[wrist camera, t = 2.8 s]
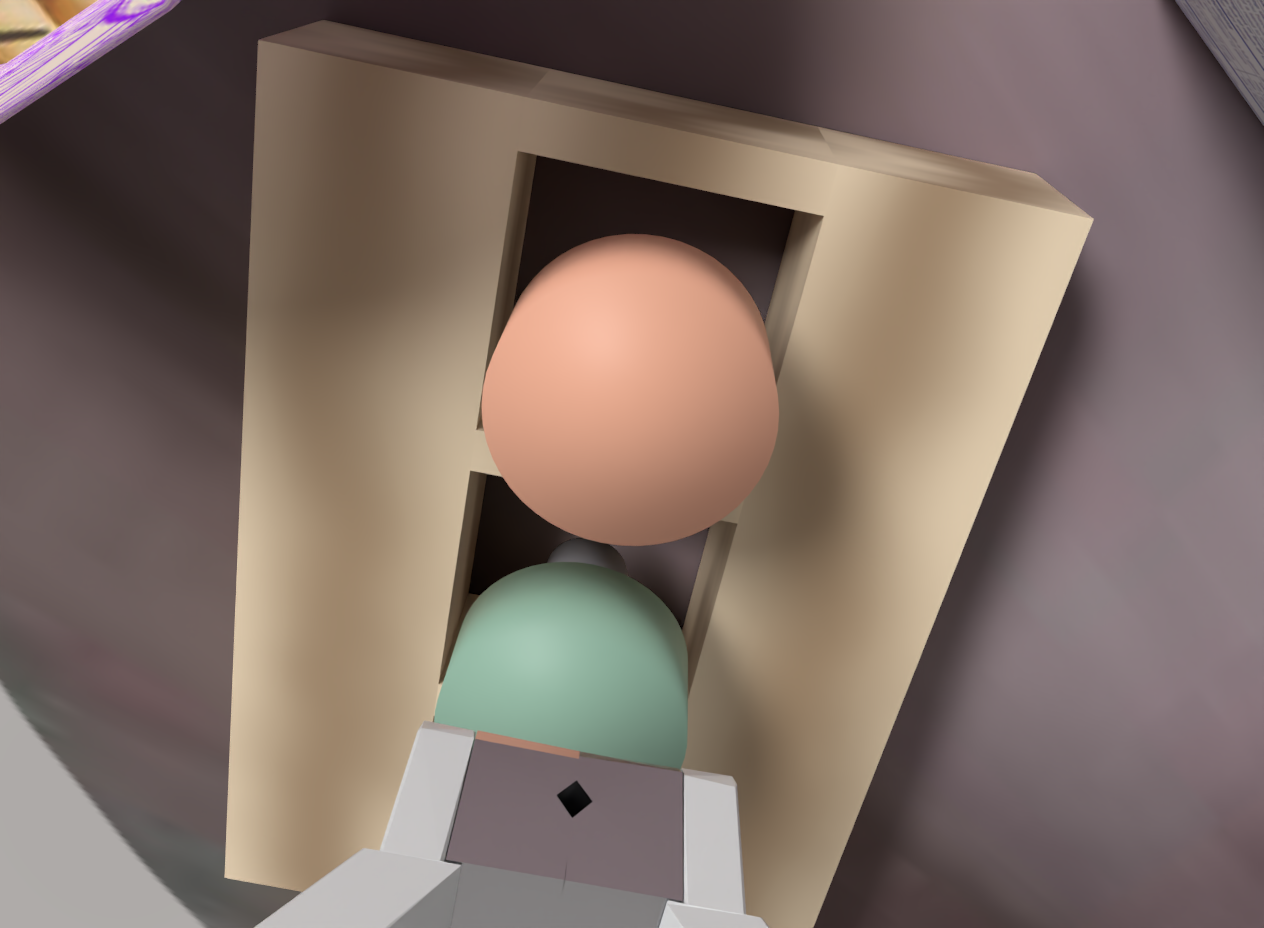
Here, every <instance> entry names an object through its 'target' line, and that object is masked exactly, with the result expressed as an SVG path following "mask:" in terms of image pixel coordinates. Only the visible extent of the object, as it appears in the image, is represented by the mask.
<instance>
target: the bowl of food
mask: <svg viewBox="0 0 1264 928" xmlns="http://www.w3.org/2000/svg"><path fill="white" fill-rule="evenodd" d="M180 1H181V0H0V124H1V123H3V122H4V121H6V120H7V119H9V118H10V117H12V116H13V115H15V114H16V113H18V112H19V111H21V110H22V109H24V108H25V107H27V106H28V105H30V104H31V103H33V102H34V101H36V100H37V99H39V98H40V97H42V96H43V95H45V94H46V93H48V92H49V91H51V90H52V89H54V88H55V87H57V86H58V85H60V84H61V83H63V82H64V81H66V80H67V79H69V78H70V77H72V76H73V75H75V74H76V73H78V72H79V71H81V70H82V69H84V68H85V67H87V66H88V65H90V64H91V63H93V62H94V61H96V60H97V59H99V58H100V57H102V56H103V55H105V54H106V53H108V52H109V51H111V50H112V49H114V48H115V47H117V46H118V45H120V44H121V43H123V42H124V41H126V40H127V39H129V38H130V37H132V36H133V35H135V34H136V33H138V32H139V31H141V30H142V29H144V28H145V27H147V26H148V25H150V24H151V23H153V22H154V21H156V20H157V19H159V18H160V17H162V16H163V15H165V14H166V13H168V12H169V11H171V10H172V9H173V8H174V7H175V6H176V5H177V4H178V3H179V2H180Z"/></svg>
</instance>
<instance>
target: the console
mask: <svg viewBox="0 0 1264 928" xmlns="http://www.w3.org/2000/svg"><path fill="white" fill-rule="evenodd" d="M537 155H539V156H544V157H549V158H553V159H558V160H563V161H568V162H572V163H577V164H582V165H586V166H591V167H596V168H601V169H605V170H610V171H615V172H619V173H624V174H629V175H633V176H638V177H643V178H648V179H652V180H657V181H662V182H666V183H671V184H676V185H681V186H685V187H690V188H695V189H699V190H704V191H709V192H713V193H718V194H723V195H728V196H732V197H737V198H742V199H746V200H751V201H756V202H761V203H765V204H770V205H775V206H779V207H784V208H789V209H794V210H795V212H794V216H793V220H792V223H791V227H790V231H789V235H788V238H787V242H786V246H785V249H784V253H783V257H782V261H781V264H780V268H779V272H778V276H777V279H776V283H775V287H774V290H773V294H772V298H771V302H770V305H769V309H768V313H767V316H766V320H765V324H764V325H765V328H766V332H767V337H768V341H769V347H770V352H771V358H772V364H773V370H774V376H775V382H776V387H777V393H778V404H779V422H778V432H777V437H776V442H775V447H774V450H773V452H772V455H771V458H770V461H769V463H768V466H767V467H766V469H765V471H764V473H763V475H762V477H761V479H760V480H759V482H758V483H757V484H756V486H755V487H754V489H753V490H752V491H751V493H750V494H749V495H748V496H747V497H746V498H745V499H744V500H743V501H742V502H741V504H740V505H739V506H738V507H737V508H735V509H734V510H733V511H732V512H730V513H729V514H728V515H727V516H725V517H724V518H723V519H721V520H720V521H718V522H716V523H715V524H713V525H712V526H710V529H709V532H708V536H707V540H706V543H705V547H704V551H703V555H702V558H701V562H700V566H699V569H698V573H697V577H696V581H695V584H694V588H693V592H692V596H691V599H690V603H689V607H688V610H687V614H686V618H685V622H684V625H683V629H682V632H683V635H684V639H685V642H686V646H687V653H688V731H687V749H686V754H685V758H684V761H683V764H682V766H681V769H682V768H684V769H690V770H697V771H703V772H709V773H715V774H721V775H727V776H732V777H733V778H734V780H735V782H736V784H737V791H738V805H739V820H740V834H741V848H742V862H743V876H744V890H745V904H746V915H750V916H756V917H761V918H763V920H764V921H765V922H766V924H767V925H768V926H769V928H813V927H814V924H815V922H816V919H817V917H818V914H819V912H820V909H821V907H822V904H823V902H824V899H825V897H826V894H827V891H828V889H829V886H830V884H831V881H832V879H833V876H834V874H835V871H836V869H837V866H838V864H839V861H840V859H841V856H842V854H843V851H844V849H845V846H846V844H847V841H848V838H849V836H850V833H851V831H852V828H853V826H854V823H855V821H856V818H857V816H858V813H859V811H860V808H861V806H862V803H863V801H864V798H865V796H866V793H867V790H868V788H869V785H870V783H871V780H872V778H873V775H874V773H875V770H876V768H877V765H878V763H879V760H880V758H881V755H882V753H883V750H884V748H885V745H886V742H887V740H888V737H889V735H890V732H891V730H892V727H893V725H894V722H895V720H896V717H897V715H898V712H899V710H900V707H901V705H902V702H903V700H904V697H905V694H906V692H907V689H908V687H909V684H910V682H911V679H912V677H913V674H914V672H915V669H916V667H917V664H918V662H919V659H920V657H921V654H922V652H923V649H924V646H925V644H926V641H927V639H928V636H929V634H930V631H931V629H932V626H933V624H934V621H935V619H936V616H937V614H938V611H939V609H940V606H941V604H942V601H943V599H944V596H945V593H946V591H947V588H948V586H949V583H950V581H951V578H952V576H953V573H954V571H955V568H956V566H957V563H958V561H959V558H960V556H961V553H962V551H963V548H964V545H965V543H966V540H967V538H968V535H969V533H970V530H971V528H972V525H973V523H974V520H975V518H976V515H977V513H978V510H979V508H980V505H981V503H982V500H983V497H984V495H985V492H986V490H987V487H988V485H989V482H990V480H991V477H992V475H993V472H994V470H995V467H996V465H997V462H998V460H999V457H1000V455H1001V452H1002V449H1003V447H1004V444H1005V442H1006V439H1007V437H1008V434H1009V432H1010V429H1011V427H1012V424H1013V422H1014V419H1015V417H1016V414H1017V412H1018V409H1019V407H1020V404H1021V402H1022V399H1023V396H1024V394H1025V391H1026V389H1027V386H1028V384H1029V381H1030V379H1031V376H1032V374H1033V371H1034V369H1035V366H1036V364H1037V361H1038V359H1039V356H1040V354H1041V351H1042V348H1043V346H1044V343H1045V341H1046V338H1047V336H1048V333H1049V331H1050V328H1051V326H1052V323H1053V321H1054V318H1055V316H1056V313H1057V311H1058V308H1059V306H1060V303H1061V300H1062V298H1063V295H1064V293H1065V290H1066V288H1067V285H1068V283H1069V280H1070V278H1071V275H1072V273H1073V270H1074V268H1075V265H1076V263H1077V260H1078V258H1079V255H1080V252H1081V250H1082V247H1083V245H1084V242H1085V240H1086V237H1087V235H1088V232H1089V230H1090V227H1091V225H1092V222H1093V220H1094V219H1093V218H1092V217H1090V216H1089V215H1088V214H1086V213H1085V212H1084V211H1083V210H1081V209H1080V208H1079V207H1078V206H1076V205H1075V204H1074V203H1072V202H1071V201H1070V200H1069V199H1067V198H1066V197H1065V196H1063V195H1062V194H1061V193H1060V192H1058V191H1057V190H1056V189H1055V188H1053V187H1052V186H1051V185H1049V184H1048V183H1047V182H1046V181H1044V180H1043V179H1042V178H1041V177H1039V176H1038V175H1037V174H1035V173H1030V172H1025V171H1021V170H1016V169H1012V168H1007V167H1002V166H998V165H993V164H988V163H984V162H979V161H975V160H970V159H965V158H961V157H956V156H951V155H947V154H942V153H938V152H933V151H928V150H924V149H919V148H914V147H910V146H905V145H900V144H896V143H891V142H887V141H882V140H877V139H873V138H868V137H863V136H859V135H854V134H850V133H845V132H840V131H836V130H831V129H826V128H822V127H817V126H813V125H808V124H803V123H799V122H794V121H789V120H785V119H780V118H776V117H771V116H766V115H762V114H757V113H752V112H748V111H743V110H739V109H734V108H729V107H725V106H720V105H715V104H711V103H706V102H702V101H697V100H692V99H688V98H683V97H678V96H674V95H669V94H664V93H660V92H655V91H651V90H646V89H641V88H637V87H632V86H627V85H623V84H618V83H614V82H609V81H604V80H600V79H595V78H590V77H586V76H581V75H577V74H572V73H567V72H563V71H558V70H553V69H549V68H544V67H540V66H535V65H530V64H526V63H521V62H516V61H512V60H507V59H503V58H498V57H493V56H489V55H484V54H479V53H475V52H470V51H465V50H461V49H456V48H452V47H447V46H442V45H438V44H433V43H428V42H424V41H419V40H415V39H410V38H405V37H401V36H396V35H391V34H387V33H382V32H378V31H373V30H368V29H364V28H359V27H354V26H350V25H345V24H341V23H336V22H331V21H327V20H321V21H318V22H315V23H311V24H308V25H305V26H301V27H298V28H295V29H292V30H288V31H285V32H282V33H279V34H275V35H272V36H269V37H266V38H262V39H259V40H258V57H257V82H256V107H255V132H254V157H253V182H252V207H251V232H250V257H249V282H248V307H247V332H246V357H245V382H244V407H243V432H242V457H241V482H240V507H239V532H238V557H237V583H236V608H235V633H234V658H233V683H232V708H231V733H230V758H229V783H228V808H227V833H226V858H225V878H229V879H235V880H240V881H246V882H251V883H257V884H263V885H268V886H274V887H279V888H285V889H290V890H296V891H301V892H303V891H305V890H306V889H307V888H309V887H310V886H312V885H313V884H314V883H316V882H317V881H318V880H320V879H321V878H323V877H324V876H325V875H327V874H328V873H329V872H331V871H332V870H334V869H335V868H336V867H338V866H339V865H340V864H342V863H343V862H345V861H346V860H347V859H349V858H350V857H351V856H353V855H354V854H356V853H357V852H358V851H360V850H361V849H362V848H367V849H373V850H380V847H381V844H382V841H383V838H384V835H385V831H386V828H387V825H388V822H389V819H390V816H391V813H392V809H393V806H394V803H395V800H396V797H397V794H398V791H399V788H400V784H401V781H402V778H403V775H404V772H405V769H406V766H407V763H408V759H409V756H410V753H411V750H412V747H413V744H414V741H415V738H416V734H417V731H418V730H419V728H420V726H421V725H422V723H423V722H424V720H425V721H430V722H434V718H435V709H436V704H437V700H438V697H439V693H440V690H441V687H442V684H443V681H444V678H445V675H446V672H447V669H448V666H449V663H450V659H451V656H452V653H453V650H454V647H455V644H456V641H457V638H458V635H459V632H460V628H461V626H462V623H463V621H464V618H465V616H466V614H467V612H468V611H469V609H470V608H471V606H472V604H473V603H474V602H475V601H476V600H477V598H478V597H479V596H480V595H476V594H471V593H469V586H470V580H471V573H472V567H473V561H474V554H475V548H476V541H477V535H478V529H479V522H480V516H481V509H482V503H483V497H484V490H485V484H486V478H487V474H491V475H496V476H501V477H502V475H501V474H500V472H499V470H498V468H497V466H496V464H495V462H494V460H493V458H492V456H491V453H490V450H489V447H488V445H487V442H486V438H485V433H484V428H483V422H482V407H481V406H482V393H483V386H484V381H485V377H486V372H487V369H488V367H489V364H490V361H491V359H492V356H493V354H494V351H495V349H496V347H497V345H498V342H499V340H500V338H501V336H502V333H503V331H504V329H505V327H506V325H507V322H508V320H509V318H510V316H511V313H512V311H513V305H514V299H515V292H516V286H517V279H518V273H519V267H520V260H521V254H522V248H523V241H524V235H525V228H526V222H527V216H528V209H529V203H530V196H531V190H532V184H533V177H534V171H535V164H536V158H537ZM681 769H680V770H681Z"/></svg>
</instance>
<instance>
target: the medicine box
mask: <svg viewBox="0 0 1264 928" xmlns="http://www.w3.org/2000/svg"><path fill="white" fill-rule="evenodd" d="M1175 1H1176V3H1177V4H1178V5H1179V7H1180V8H1181V10H1182V11H1183V12H1184V14H1185V15H1186V17H1187V18H1188V19H1189V21H1190V22H1191V24H1192V25H1193V26H1194V28H1195V29H1196V31H1197V32H1198V33H1199V35H1200V36H1201V38H1202V39H1203V41H1204V42H1205V43H1206V45H1207V46H1208V48H1209V49H1210V51H1211V52H1212V53H1213V55H1214V56H1215V58H1216V59H1217V60H1218V62H1219V63H1220V65H1221V66H1222V68H1223V69H1224V70H1225V72H1226V73H1227V75H1228V76H1229V78H1230V79H1231V80H1232V82H1233V83H1234V85H1235V86H1236V87H1237V89H1238V90H1239V92H1240V93H1241V94H1242V96H1243V97H1244V99H1245V100H1246V101H1247V103H1248V104H1249V106H1250V107H1251V108H1252V110H1253V111H1254V113H1255V114H1256V116H1257V117H1258V118H1259V120H1260V121H1261V123H1262V124H1263V125H1264V0H1175Z"/></svg>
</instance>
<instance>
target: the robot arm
mask: <svg viewBox="0 0 1264 928" xmlns="http://www.w3.org/2000/svg"><path fill="white" fill-rule="evenodd" d="M254 928H769V926H768V925H767V924H766V922H765V921H764V920H763V918H761V917H756V916H750V915H746V904H745V890H744V876H743V862H742V848H741V834H740V820H739V805H738V791H737V784H736V782H735V780H734V778H733V777H732V776H727V775H721V774H715V773H709V772H703V771H697V770H690V769H684V768H682V769H681V770H679V769H678V768H673V767H667V766H662V765H656V764H650V763H645V762H639V761H633V760H627V759H622V758H616V757H610V756H604V755H599V754H593V753H587V752H581V751H576V750H571V749H566V748H561V747H556V746H551V745H547V744H542V743H537V742H532V741H527V740H522V739H517V738H513V737H508V736H503V735H498V734H493V733H488V732H484V731H479V730H478V731H477V734H476V732H475V731H473V730H469V729H464V728H459V727H454V726H449V725H444V724H440V723H435V722H430V721H425V720H424V722H423V723H422V725H421V726H420V728H419V730H418V731H417V734H416V738H415V741H414V744H413V747H412V750H411V753H410V756H409V759H408V763H407V766H406V769H405V772H404V775H403V778H402V781H401V784H400V788H399V791H398V794H397V797H396V800H395V803H394V806H393V809H392V813H391V816H390V819H389V822H388V825H387V828H386V831H385V835H384V838H383V841H382V844H381V847H380V850H373V849H367V848H362V849H361V850H360V851H358V852H357V853H356V854H354V855H353V856H351V857H350V858H349V859H347V860H346V861H345V862H343V863H342V864H340V865H339V866H338V867H336V868H335V869H334V870H332V871H331V872H329V873H328V874H327V875H325V876H324V877H323V878H321V879H320V880H318V881H317V882H316V883H314V884H313V885H312V886H310V887H309V888H307V889H306V890H305V891H303V892H302V893H301V894H299V895H298V896H297V897H295V898H294V899H292V900H291V901H290V902H288V903H287V904H286V905H284V906H283V907H281V908H280V909H279V910H277V911H276V912H275V913H273V914H272V915H270V916H269V917H268V918H266V919H265V920H264V921H262V922H261V923H259V924H258V925H257V926H255V927H254Z"/></svg>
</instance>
